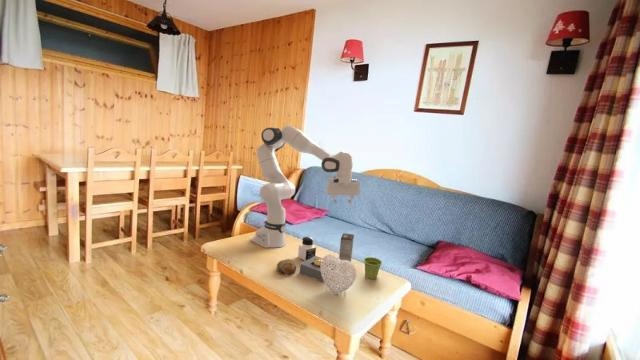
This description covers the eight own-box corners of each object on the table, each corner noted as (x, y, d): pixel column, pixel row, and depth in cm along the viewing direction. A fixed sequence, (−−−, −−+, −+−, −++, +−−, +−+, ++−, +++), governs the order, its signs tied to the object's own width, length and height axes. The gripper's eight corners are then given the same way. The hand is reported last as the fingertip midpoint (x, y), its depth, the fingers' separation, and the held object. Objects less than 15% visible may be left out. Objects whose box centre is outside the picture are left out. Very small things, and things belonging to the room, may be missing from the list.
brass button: (310, 266, 161) (311, 260, 160) (317, 262, 166) (317, 256, 165) (320, 270, 158) (321, 263, 157) (326, 266, 163) (327, 259, 162)
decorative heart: (312, 290, 144) (316, 255, 142) (326, 282, 153) (329, 249, 150) (345, 306, 134) (350, 268, 131) (358, 296, 142) (362, 261, 140)
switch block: (299, 273, 160) (300, 263, 159) (314, 264, 172) (315, 255, 171) (322, 282, 153) (323, 272, 152) (336, 272, 165) (337, 263, 164)
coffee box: (340, 259, 182) (343, 232, 179) (351, 261, 181) (354, 234, 178) (337, 265, 173) (340, 237, 170) (349, 267, 172) (352, 239, 169)
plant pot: (383, 277, 163) (385, 262, 162) (373, 282, 157) (375, 266, 155) (369, 270, 170) (370, 255, 168) (358, 275, 163) (360, 259, 162)
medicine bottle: (305, 261, 174) (307, 241, 172) (297, 256, 179) (299, 236, 178) (315, 258, 179) (317, 238, 177) (307, 254, 184) (309, 234, 182)
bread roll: (274, 277, 161) (272, 266, 156) (283, 262, 169) (281, 252, 164) (291, 282, 157) (290, 271, 153) (300, 267, 165) (298, 256, 161)
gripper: (358, 179, 191) (356, 201, 193) (326, 178, 185) (324, 201, 187) (362, 180, 185) (360, 203, 187) (329, 179, 179) (327, 203, 181)
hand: (342, 202), depth 187 cm, fingers open, 8 cm apart
